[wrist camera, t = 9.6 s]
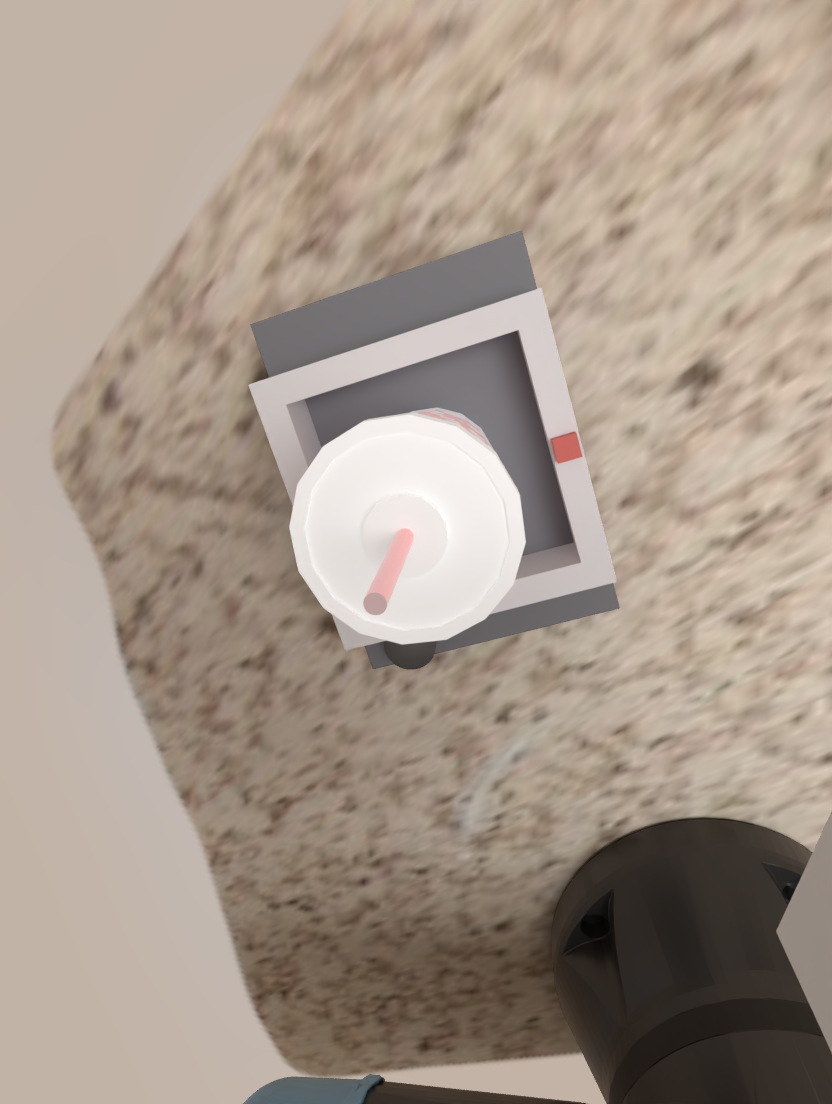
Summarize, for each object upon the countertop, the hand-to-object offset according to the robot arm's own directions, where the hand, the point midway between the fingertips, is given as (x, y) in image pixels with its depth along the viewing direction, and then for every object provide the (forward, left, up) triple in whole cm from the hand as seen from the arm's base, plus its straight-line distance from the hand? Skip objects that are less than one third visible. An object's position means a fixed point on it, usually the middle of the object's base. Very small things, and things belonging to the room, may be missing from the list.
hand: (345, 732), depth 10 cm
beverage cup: (0, 0, -19) cm, 19 cm away
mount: (0, 0, -24) cm, 24 cm away
